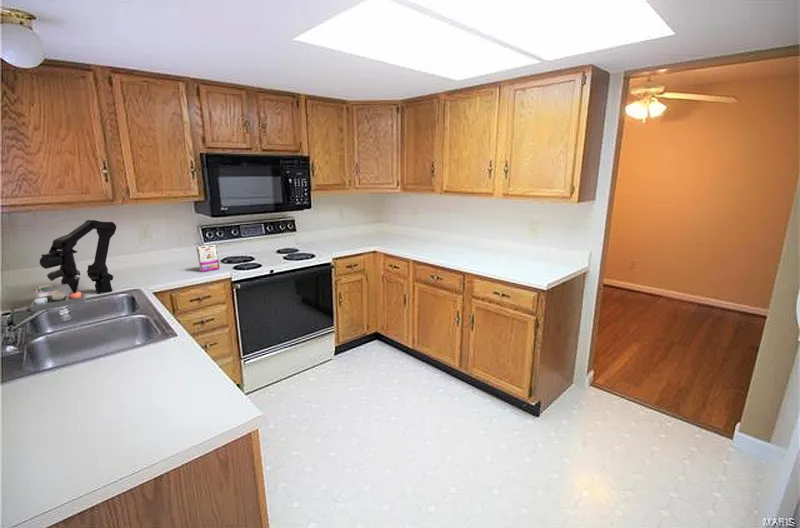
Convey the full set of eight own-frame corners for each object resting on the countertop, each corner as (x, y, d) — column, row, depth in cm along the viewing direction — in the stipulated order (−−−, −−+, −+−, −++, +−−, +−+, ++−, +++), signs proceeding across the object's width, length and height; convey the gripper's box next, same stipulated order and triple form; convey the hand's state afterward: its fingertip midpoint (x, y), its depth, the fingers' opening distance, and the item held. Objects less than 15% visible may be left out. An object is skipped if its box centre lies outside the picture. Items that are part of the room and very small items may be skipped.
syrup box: (48, 287, 198) (51, 283, 189) (51, 297, 199) (54, 294, 189) (33, 290, 194) (35, 286, 184) (37, 301, 194) (39, 297, 185)
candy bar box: (217, 267, 254) (214, 244, 250) (219, 269, 251) (216, 245, 246) (199, 271, 247) (195, 246, 243) (201, 272, 243) (197, 247, 239)
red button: (82, 298, 196) (80, 290, 195) (82, 300, 192) (80, 293, 191) (71, 300, 193) (69, 292, 192) (70, 302, 189) (68, 295, 188)
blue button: (49, 303, 188) (47, 296, 187) (48, 306, 184) (46, 298, 183) (36, 305, 185) (34, 298, 184) (35, 308, 182) (33, 300, 181)
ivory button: (65, 296, 191) (63, 289, 190) (64, 299, 188) (62, 291, 187) (53, 298, 189) (51, 290, 188) (52, 301, 185) (50, 293, 184)
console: (86, 297, 198) (85, 292, 198) (85, 302, 191) (83, 297, 190) (34, 305, 187) (33, 300, 186) (31, 311, 179) (29, 306, 179)
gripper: (48, 262, 190) (55, 291, 194) (43, 270, 176) (51, 301, 180) (76, 259, 197) (83, 287, 201) (74, 266, 182) (81, 296, 186)
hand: (74, 292), depth 192 cm, fingers closed, pressing on red button
